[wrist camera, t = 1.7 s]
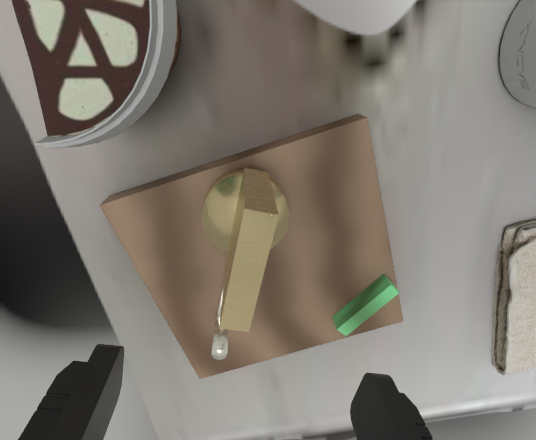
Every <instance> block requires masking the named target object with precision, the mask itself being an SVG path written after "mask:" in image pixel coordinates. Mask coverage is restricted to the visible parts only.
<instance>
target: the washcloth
mask: <svg viewBox="0 0 536 440" xmlns="http://www.w3.org/2000/svg"><path fill="white" fill-rule="evenodd" d="M495 278H496V279H495V294H494V296H495V297H494V316H493V339H492V354H491V355H492V361H493V364H494V366H495V368H496V369H497V371H498V372H499V373H500V374H502V375H506V374H509V375H511V374H513V373H515V372H519V371H523V370H528V369H530V368H535V367H536V219H534V220H530V221H525V222H521V223H518V224H514V225H512V226H509V227H507V228H506V230H505V234H504V239H503V240H502V242H501V244H500V246H499V254H498V260H497V265H496V277H495Z"/></svg>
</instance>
